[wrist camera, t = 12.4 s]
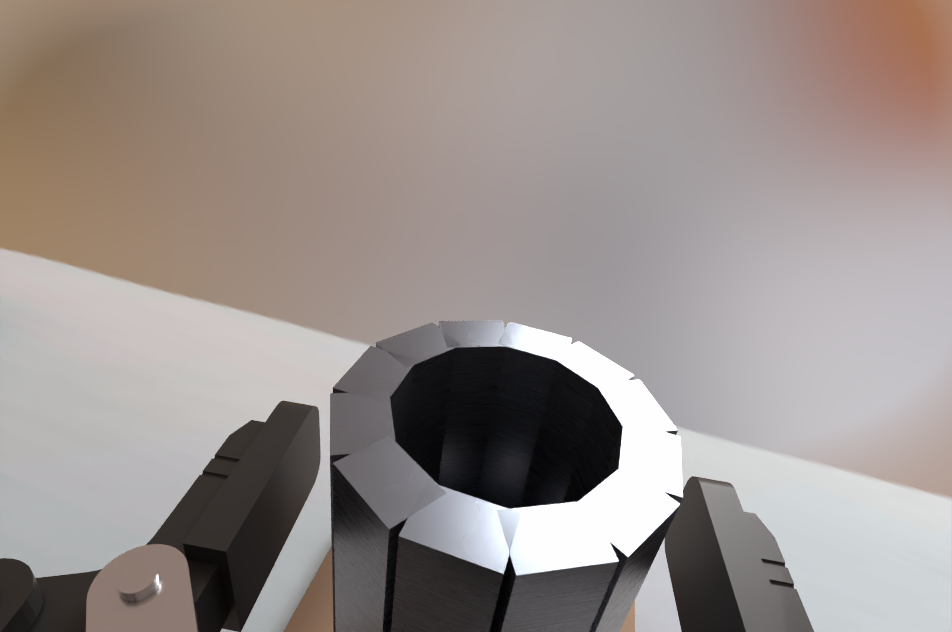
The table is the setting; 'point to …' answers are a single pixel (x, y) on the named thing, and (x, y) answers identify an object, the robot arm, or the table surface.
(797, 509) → the table surface
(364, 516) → the sleeve
